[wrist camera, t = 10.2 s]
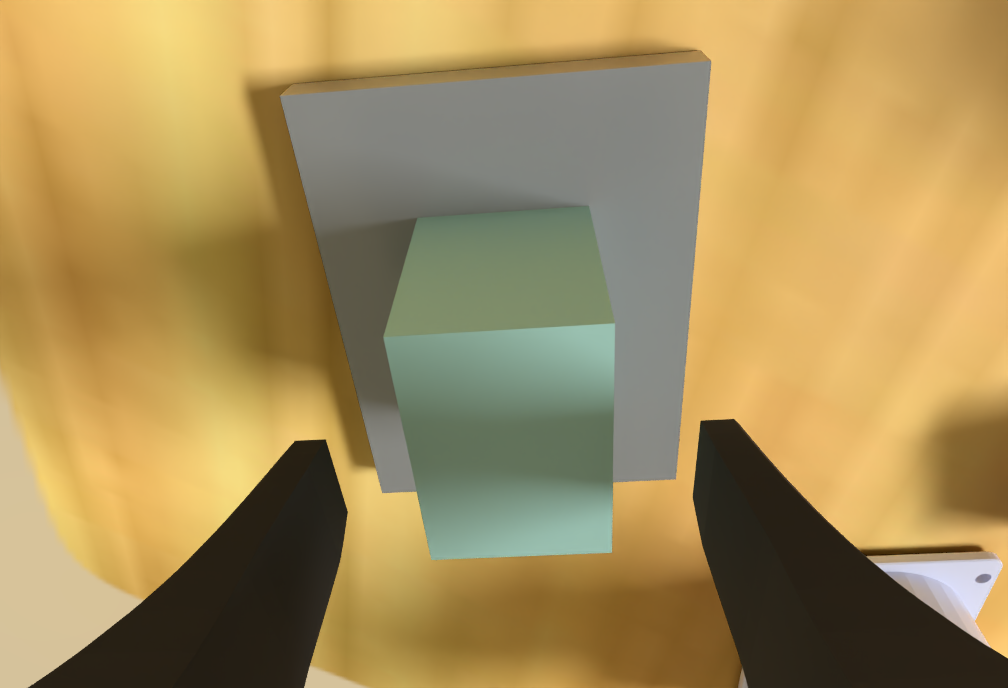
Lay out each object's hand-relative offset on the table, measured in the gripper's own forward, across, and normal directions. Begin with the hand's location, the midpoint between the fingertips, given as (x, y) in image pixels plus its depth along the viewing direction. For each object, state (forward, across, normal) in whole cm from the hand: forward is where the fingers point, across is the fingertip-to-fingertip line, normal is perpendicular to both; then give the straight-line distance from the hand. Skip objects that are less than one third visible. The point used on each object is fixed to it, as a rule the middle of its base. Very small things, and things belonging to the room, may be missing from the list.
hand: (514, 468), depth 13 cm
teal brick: (+5, 0, 0) cm, 5 cm away
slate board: (+6, 0, 0) cm, 6 cm away
